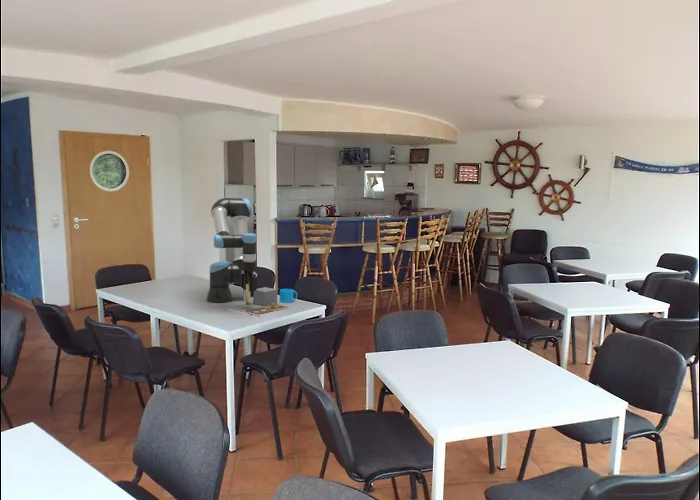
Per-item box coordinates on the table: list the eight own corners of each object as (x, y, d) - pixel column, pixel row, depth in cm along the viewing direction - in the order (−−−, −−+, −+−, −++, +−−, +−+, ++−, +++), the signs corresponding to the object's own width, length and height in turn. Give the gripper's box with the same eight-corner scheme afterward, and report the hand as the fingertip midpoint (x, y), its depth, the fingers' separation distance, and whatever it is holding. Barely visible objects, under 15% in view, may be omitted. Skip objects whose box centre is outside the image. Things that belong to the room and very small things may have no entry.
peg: (244, 304, 297) (244, 283, 295) (248, 303, 300) (249, 282, 298) (248, 305, 295) (248, 284, 293) (252, 304, 298) (253, 283, 296)
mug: (284, 305, 312) (284, 292, 311) (277, 302, 318) (277, 289, 317) (301, 303, 320) (301, 290, 319) (293, 300, 326) (293, 287, 325)
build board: (245, 313, 291) (245, 310, 291) (260, 309, 300) (260, 307, 299) (258, 316, 284) (258, 313, 284) (273, 313, 293) (273, 310, 292)
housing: (252, 305, 310) (253, 289, 309) (265, 302, 318) (265, 287, 316) (264, 308, 304) (264, 292, 302) (277, 305, 311) (277, 289, 310)
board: (261, 309, 301) (261, 302, 300) (276, 306, 310) (277, 299, 309) (275, 313, 293) (275, 305, 293) (291, 309, 302) (291, 302, 302)
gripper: (234, 259, 296) (234, 299, 299) (253, 263, 286) (252, 305, 289) (244, 258, 301) (244, 297, 305) (263, 262, 291) (263, 303, 295)
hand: (248, 301), depth 297 cm, fingers closed on peg, 3 cm apart
